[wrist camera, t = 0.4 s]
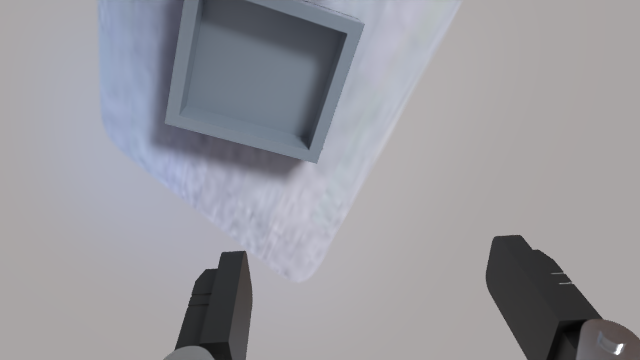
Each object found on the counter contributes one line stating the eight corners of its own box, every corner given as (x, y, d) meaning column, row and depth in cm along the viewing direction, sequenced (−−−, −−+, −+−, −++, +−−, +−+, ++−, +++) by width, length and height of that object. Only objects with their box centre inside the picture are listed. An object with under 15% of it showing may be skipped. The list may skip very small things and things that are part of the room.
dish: (199, -35, 32) (189, -35, 29) (358, 18, 34) (364, 24, 31) (175, 110, 37) (164, 123, 34) (314, 147, 40) (316, 163, 36)
